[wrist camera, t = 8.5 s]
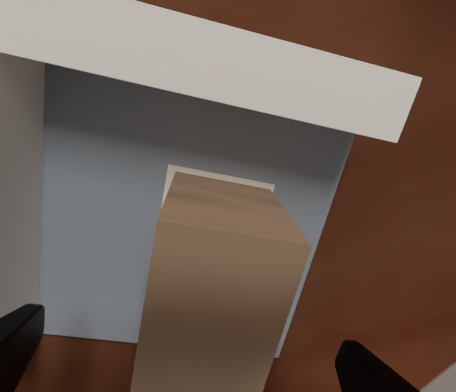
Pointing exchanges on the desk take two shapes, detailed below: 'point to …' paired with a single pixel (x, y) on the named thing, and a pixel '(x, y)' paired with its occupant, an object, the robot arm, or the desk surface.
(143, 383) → the walnut block
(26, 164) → the corner arena
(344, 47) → the desk surface
